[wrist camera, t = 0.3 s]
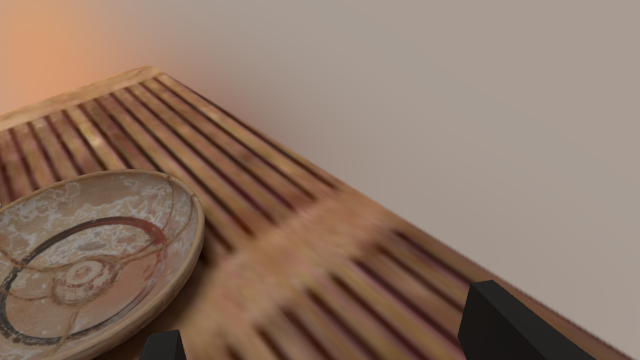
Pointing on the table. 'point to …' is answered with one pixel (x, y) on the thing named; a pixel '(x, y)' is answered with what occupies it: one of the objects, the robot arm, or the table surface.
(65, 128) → the table surface
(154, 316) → the ceramic bowl
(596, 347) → the table surface
